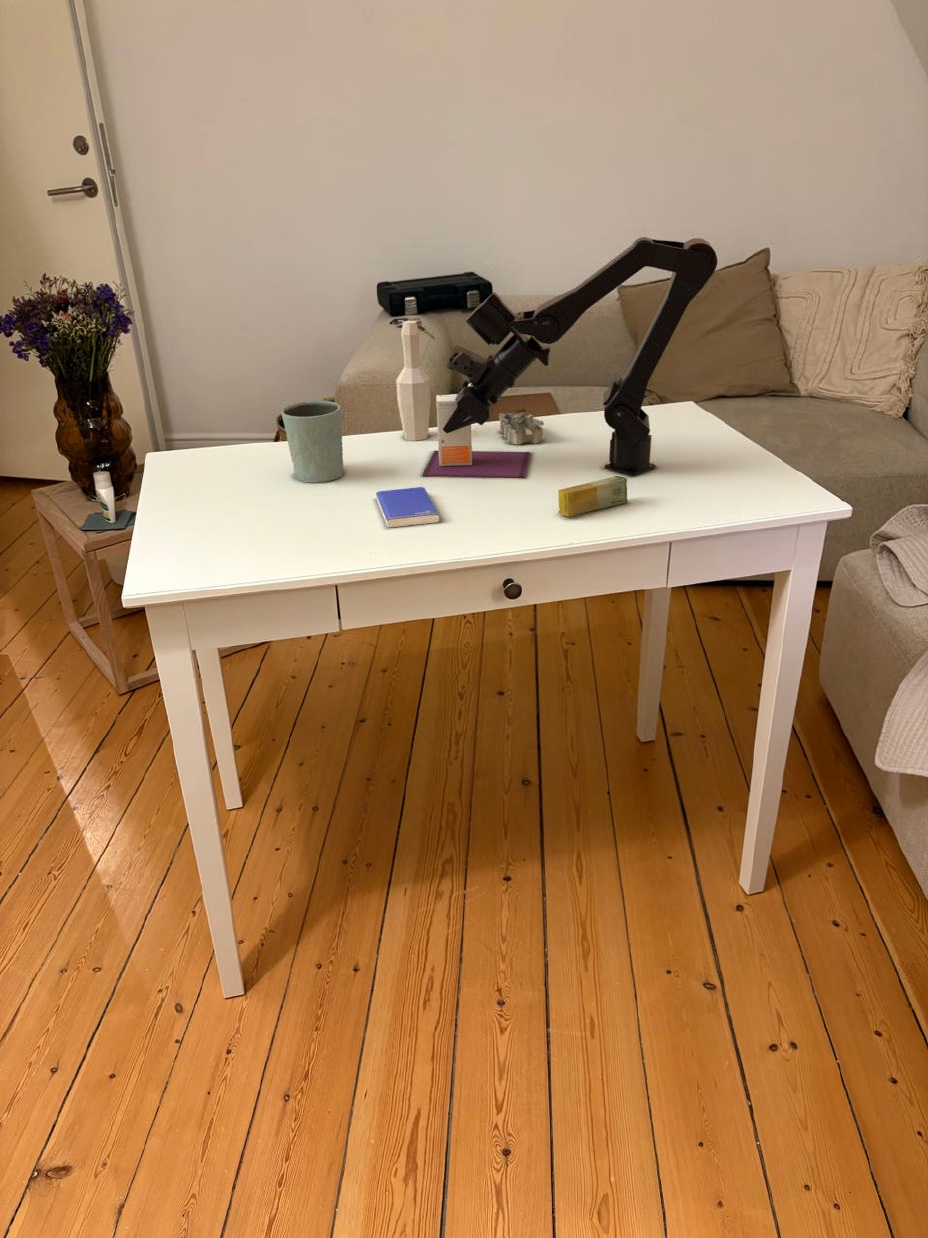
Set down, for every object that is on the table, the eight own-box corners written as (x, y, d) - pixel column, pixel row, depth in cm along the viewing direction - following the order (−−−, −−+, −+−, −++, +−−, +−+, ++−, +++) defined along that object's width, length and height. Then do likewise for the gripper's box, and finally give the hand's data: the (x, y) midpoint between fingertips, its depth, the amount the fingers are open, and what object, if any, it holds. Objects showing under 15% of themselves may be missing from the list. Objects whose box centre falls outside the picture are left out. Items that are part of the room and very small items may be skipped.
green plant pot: (352, 479, 170) (346, 412, 164) (295, 487, 167) (287, 419, 161) (339, 462, 178) (333, 397, 173) (284, 469, 175) (276, 404, 170)
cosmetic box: (439, 467, 173) (435, 401, 167) (439, 459, 177) (435, 394, 171) (473, 465, 173) (470, 399, 167) (472, 458, 177) (470, 392, 171)
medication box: (617, 499, 158) (617, 475, 156) (628, 502, 156) (628, 478, 154) (557, 513, 153) (557, 488, 151) (568, 517, 150) (567, 492, 149)
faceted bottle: (431, 441, 188) (426, 324, 177) (398, 442, 188) (391, 325, 177) (432, 431, 193) (427, 317, 183) (401, 432, 193) (393, 318, 183)
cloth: (530, 453, 179) (530, 451, 179) (524, 478, 168) (524, 475, 168) (434, 452, 182) (434, 450, 181) (422, 476, 170) (422, 473, 170)
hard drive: (438, 512, 151) (424, 486, 161) (386, 518, 149) (375, 491, 160) (439, 522, 151) (425, 495, 162) (387, 527, 150) (376, 500, 161)
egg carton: (545, 443, 184) (545, 422, 182) (506, 446, 184) (506, 425, 182) (535, 427, 194) (535, 407, 192) (497, 429, 193) (497, 409, 191)
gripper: (480, 319, 171) (422, 381, 178) (466, 342, 155) (403, 410, 162) (525, 364, 174) (466, 423, 181) (516, 391, 158) (451, 456, 164)
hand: (446, 427), depth 172 cm, fingers closed on cosmetic box, 4 cm apart
